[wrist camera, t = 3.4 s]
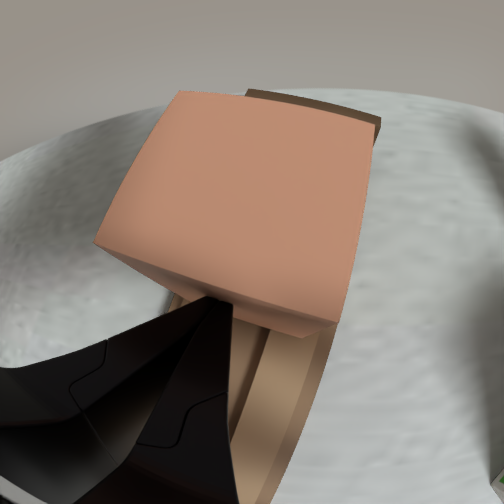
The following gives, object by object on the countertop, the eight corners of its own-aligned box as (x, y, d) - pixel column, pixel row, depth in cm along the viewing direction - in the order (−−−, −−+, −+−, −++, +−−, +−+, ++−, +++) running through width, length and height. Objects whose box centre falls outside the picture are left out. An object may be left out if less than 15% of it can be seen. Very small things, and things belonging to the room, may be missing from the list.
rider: (300, 338, 14) (338, 322, 5) (198, 306, 15) (93, 242, 6) (325, 249, 16) (375, 124, 6) (229, 223, 17) (179, 90, 8)
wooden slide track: (250, 532, 12) (244, 564, 8) (125, 482, 14) (96, 502, 10) (368, 152, 20) (381, 117, 16) (253, 125, 21) (248, 88, 18)
